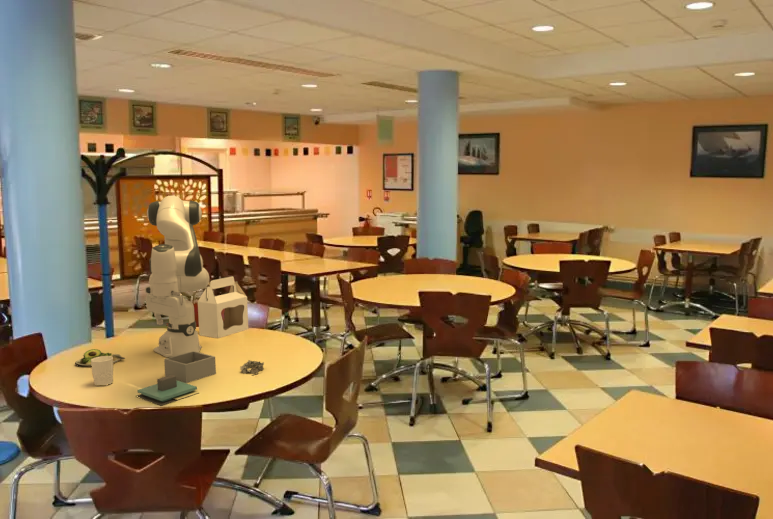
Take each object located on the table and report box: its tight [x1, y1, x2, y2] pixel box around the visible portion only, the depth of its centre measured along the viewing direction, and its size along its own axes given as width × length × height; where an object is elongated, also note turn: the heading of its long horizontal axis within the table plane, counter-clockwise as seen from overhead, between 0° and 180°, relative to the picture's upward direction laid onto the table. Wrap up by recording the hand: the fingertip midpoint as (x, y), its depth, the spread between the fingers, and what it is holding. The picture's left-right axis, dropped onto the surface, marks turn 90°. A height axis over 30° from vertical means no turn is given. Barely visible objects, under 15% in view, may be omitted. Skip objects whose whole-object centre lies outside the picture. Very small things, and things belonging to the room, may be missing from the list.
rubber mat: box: [136, 392, 200, 407], centre depth 238 cm, size 16×16×1 cm
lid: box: [137, 375, 198, 402], centre depth 238 cm, size 15×15×6 cm
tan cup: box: [91, 356, 114, 386], centre depth 251 cm, size 8×8×10 cm
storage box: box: [163, 351, 217, 384], centre depth 259 cm, size 14×14×8 cm
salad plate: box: [74, 348, 126, 367], centre depth 281 cm, size 19×18×5 cm
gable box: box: [197, 275, 249, 339], centre depth 329 cm, size 22×13×28 cm, turn 149°
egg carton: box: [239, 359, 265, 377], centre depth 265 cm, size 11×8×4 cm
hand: (167, 326), depth 237 cm, fingers open, 8 cm apart
